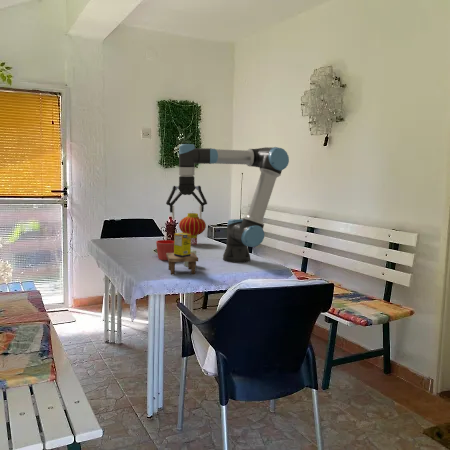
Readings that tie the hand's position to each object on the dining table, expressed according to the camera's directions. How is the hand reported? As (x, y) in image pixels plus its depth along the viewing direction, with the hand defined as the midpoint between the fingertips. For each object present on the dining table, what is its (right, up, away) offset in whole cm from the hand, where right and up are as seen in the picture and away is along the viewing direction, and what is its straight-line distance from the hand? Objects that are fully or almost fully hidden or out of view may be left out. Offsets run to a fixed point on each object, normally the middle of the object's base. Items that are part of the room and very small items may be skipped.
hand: (186, 218), depth 240 cm
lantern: (-2, -16, +73) cm, 75 cm away
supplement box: (-2, -18, -2) cm, 18 cm away
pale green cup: (+1, -24, +12) cm, 27 cm away
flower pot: (-14, -22, +27) cm, 37 cm away
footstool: (-2, -26, -1) cm, 26 cm away
